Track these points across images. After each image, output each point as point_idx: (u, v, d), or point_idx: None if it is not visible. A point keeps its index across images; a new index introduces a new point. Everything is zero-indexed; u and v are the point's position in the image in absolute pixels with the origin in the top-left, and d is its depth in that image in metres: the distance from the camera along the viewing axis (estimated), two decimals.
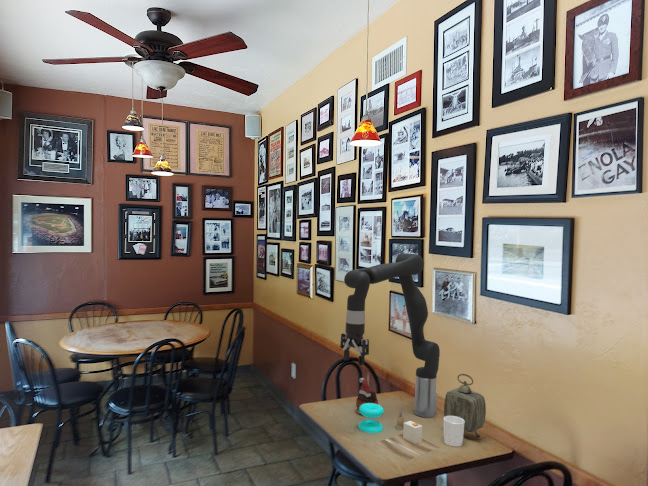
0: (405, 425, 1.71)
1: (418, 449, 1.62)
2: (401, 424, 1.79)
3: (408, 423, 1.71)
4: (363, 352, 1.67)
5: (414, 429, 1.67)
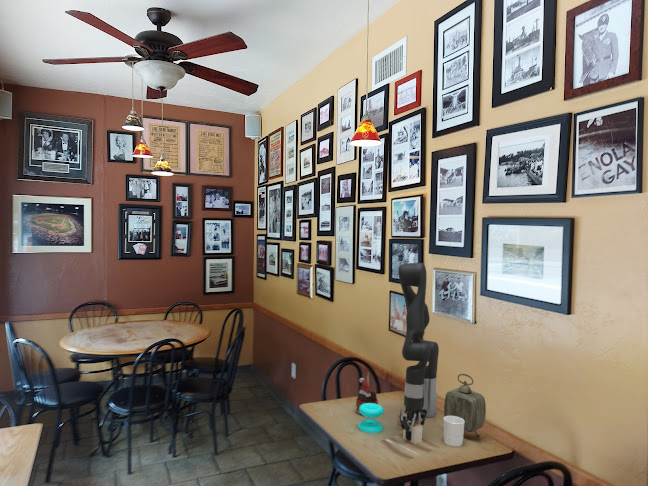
0: None
1: (418, 449, 1.62)
2: None
3: None
4: (423, 422, 1.72)
5: (414, 429, 1.67)
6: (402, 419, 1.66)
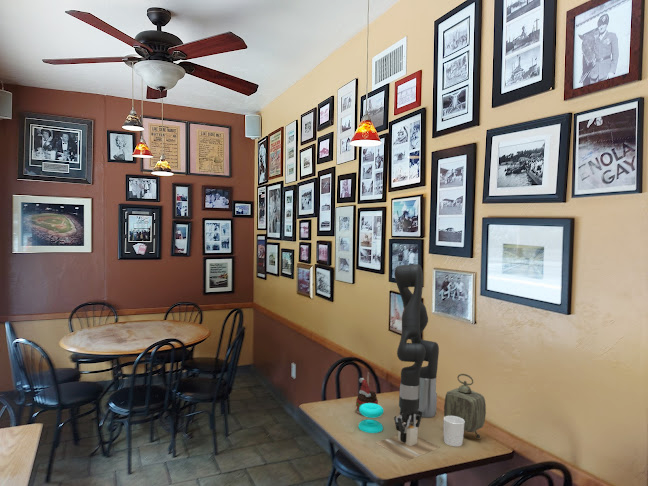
0: None
1: (418, 449, 1.62)
2: None
3: None
4: (418, 424, 1.70)
5: (409, 431, 1.65)
6: (397, 421, 1.64)
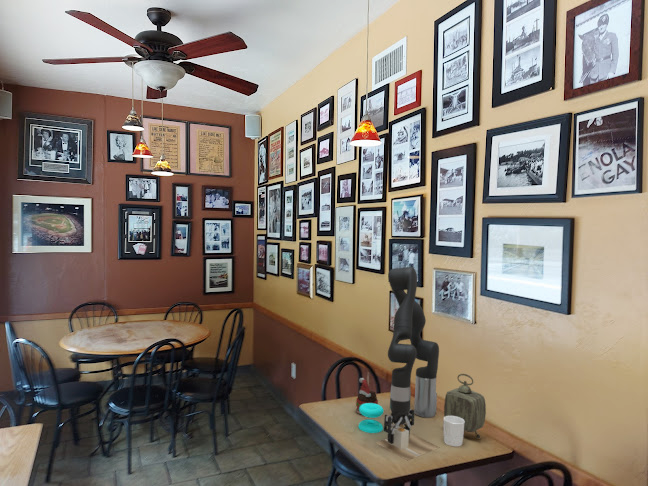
0: None
1: (418, 449, 1.62)
2: (401, 424, 1.79)
3: None
4: (413, 422, 1.69)
5: (400, 434, 1.62)
6: (387, 419, 1.61)
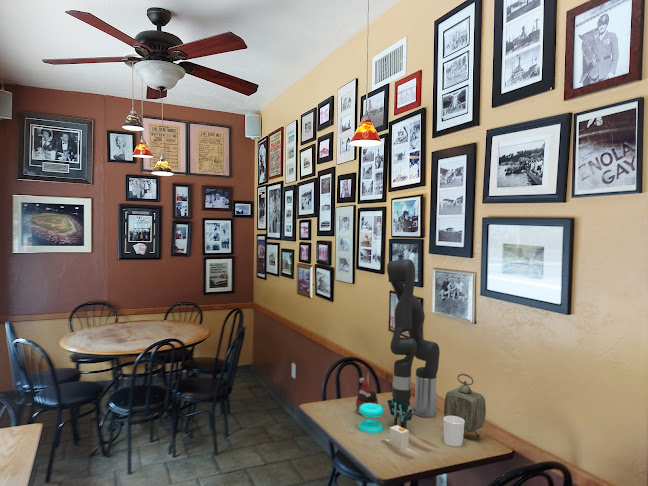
0: (391, 430, 1.66)
1: (418, 449, 1.62)
2: None
3: (394, 428, 1.66)
4: None
5: (400, 434, 1.62)
6: (413, 412, 1.76)
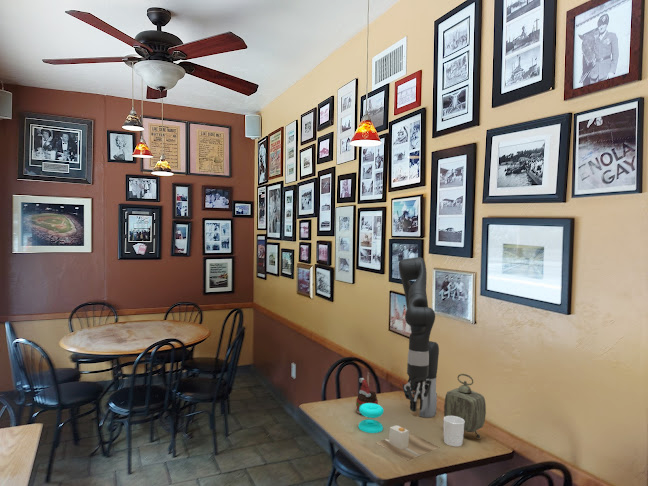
0: (391, 430, 1.66)
1: (418, 449, 1.62)
2: None
3: (394, 428, 1.66)
4: (426, 393, 1.61)
5: (400, 434, 1.62)
6: (406, 389, 1.55)
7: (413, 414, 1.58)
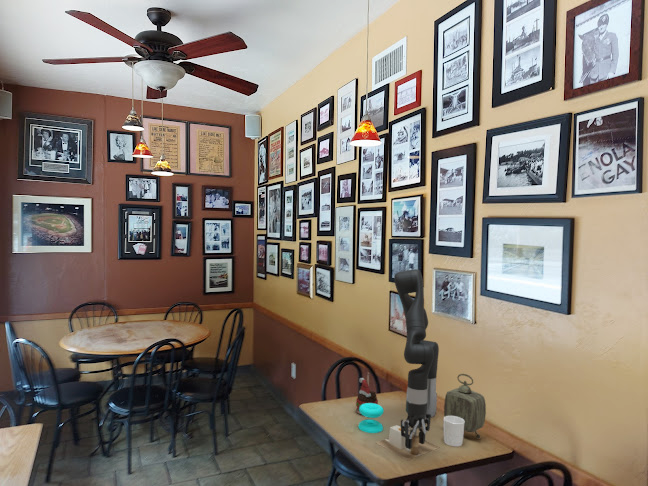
0: (391, 430, 1.66)
1: None
2: None
3: (394, 428, 1.66)
4: (428, 427, 1.62)
5: (400, 434, 1.62)
6: (403, 424, 1.55)
7: (412, 452, 1.58)
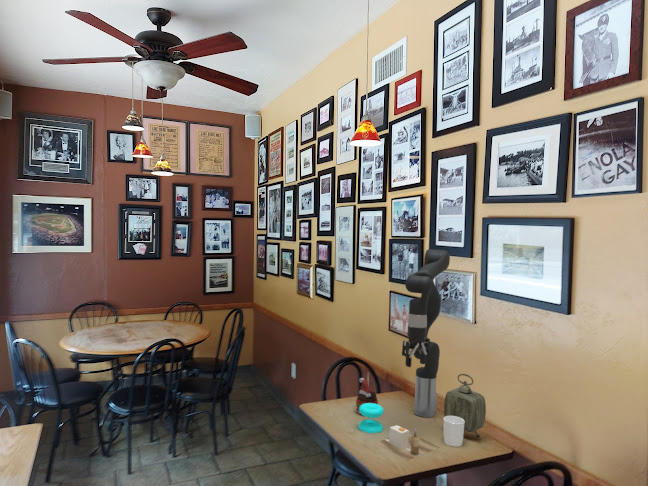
0: (391, 430, 1.66)
1: None
2: (411, 444, 1.59)
3: (394, 428, 1.66)
4: (428, 350, 1.81)
5: (400, 434, 1.62)
6: (405, 344, 1.74)
7: (412, 452, 1.58)
